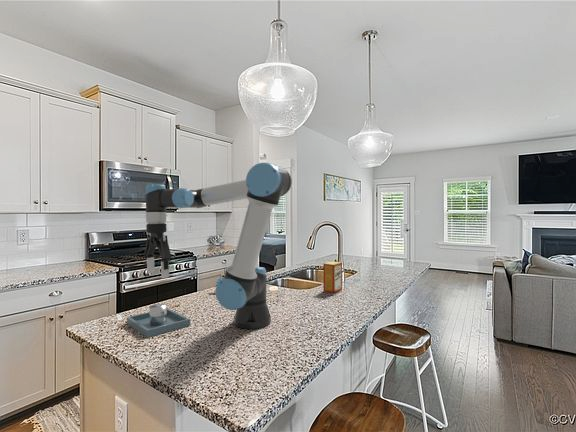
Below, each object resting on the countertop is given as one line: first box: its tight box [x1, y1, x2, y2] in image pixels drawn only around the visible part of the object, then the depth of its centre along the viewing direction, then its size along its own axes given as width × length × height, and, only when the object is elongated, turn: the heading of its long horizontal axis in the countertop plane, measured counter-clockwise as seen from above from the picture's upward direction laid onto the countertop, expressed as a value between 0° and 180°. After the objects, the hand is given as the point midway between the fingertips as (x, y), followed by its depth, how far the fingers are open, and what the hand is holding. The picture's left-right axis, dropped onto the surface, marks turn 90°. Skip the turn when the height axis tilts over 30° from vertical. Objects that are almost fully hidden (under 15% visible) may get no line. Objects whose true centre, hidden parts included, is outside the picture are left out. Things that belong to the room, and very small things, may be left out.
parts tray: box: [126, 307, 191, 339], centre depth 132 cm, size 21×17×3 cm
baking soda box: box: [322, 261, 343, 294], centre depth 183 cm, size 10×6×16 cm
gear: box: [215, 277, 224, 287], centre depth 183 cm, size 11×6×10 cm
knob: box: [148, 303, 168, 326], centre depth 131 cm, size 6×6×7 cm
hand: (157, 275), depth 131 cm, fingers open, 13 cm apart
